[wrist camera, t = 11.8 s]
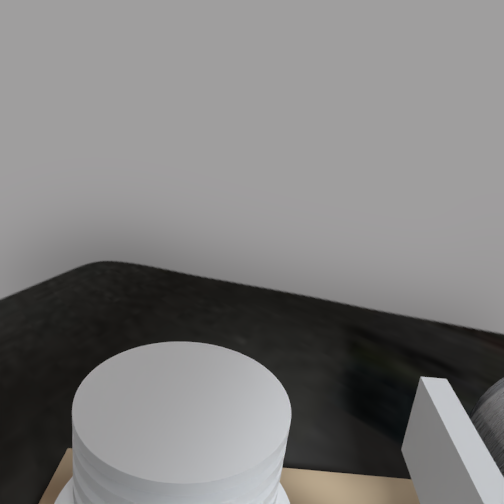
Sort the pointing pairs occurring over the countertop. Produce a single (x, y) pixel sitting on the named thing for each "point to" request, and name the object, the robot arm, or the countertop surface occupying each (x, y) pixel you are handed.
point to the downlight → (178, 429)
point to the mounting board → (297, 486)
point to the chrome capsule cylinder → (491, 422)
